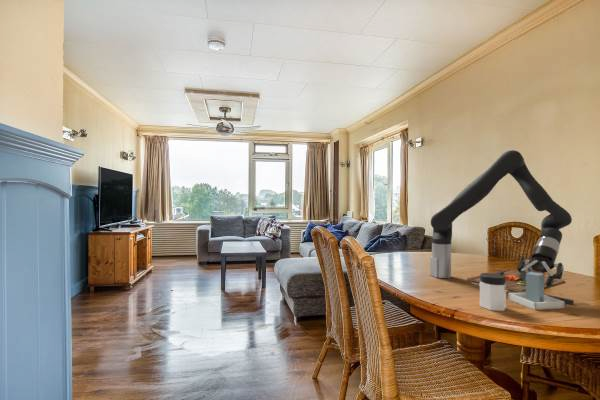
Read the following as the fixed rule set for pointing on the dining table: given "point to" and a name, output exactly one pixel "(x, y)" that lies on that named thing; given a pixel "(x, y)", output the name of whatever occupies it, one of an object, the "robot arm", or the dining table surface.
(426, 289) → the dining table surface
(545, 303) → the parts tray
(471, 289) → the dining table surface
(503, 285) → the jar
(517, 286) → the chopping board
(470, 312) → the dining table surface
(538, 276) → the tall gray-blue pillar
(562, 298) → the long charcoal bar
